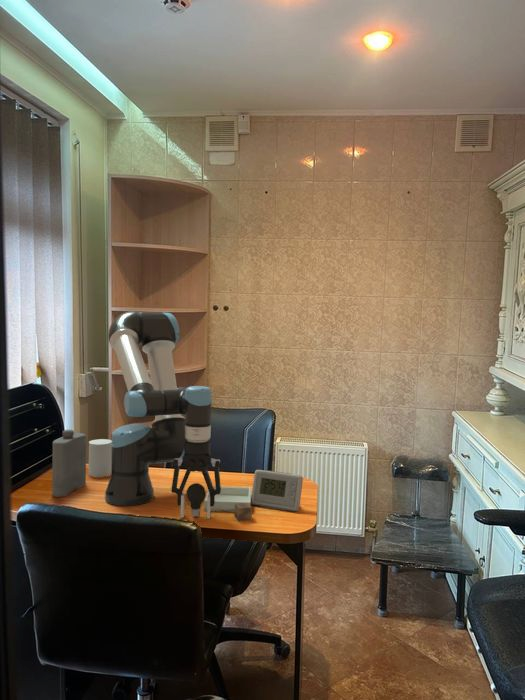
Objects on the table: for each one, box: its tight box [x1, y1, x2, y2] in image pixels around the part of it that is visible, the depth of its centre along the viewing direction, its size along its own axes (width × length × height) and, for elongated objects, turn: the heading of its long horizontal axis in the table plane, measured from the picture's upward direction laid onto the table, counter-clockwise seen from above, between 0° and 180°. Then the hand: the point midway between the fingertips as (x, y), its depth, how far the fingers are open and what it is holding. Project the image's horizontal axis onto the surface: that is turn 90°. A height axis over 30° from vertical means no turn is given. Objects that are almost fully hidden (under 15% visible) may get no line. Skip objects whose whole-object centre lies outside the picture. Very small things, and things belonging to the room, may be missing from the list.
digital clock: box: [251, 469, 304, 512], centre depth 164 cm, size 16×9×11 cm, turn 59°
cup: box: [88, 438, 112, 478], centre depth 191 cm, size 8×8×12 cm
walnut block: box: [233, 503, 253, 523], centre depth 153 cm, size 4×4×4 cm
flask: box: [51, 429, 87, 498], centre depth 173 cm, size 15×6×20 cm, turn 167°
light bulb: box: [185, 482, 207, 518], centre depth 153 cm, size 6×6×10 cm
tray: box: [203, 485, 252, 513], centre depth 165 cm, size 14×14×3 cm
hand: (195, 516), depth 153 cm, fingers open, 7 cm apart
